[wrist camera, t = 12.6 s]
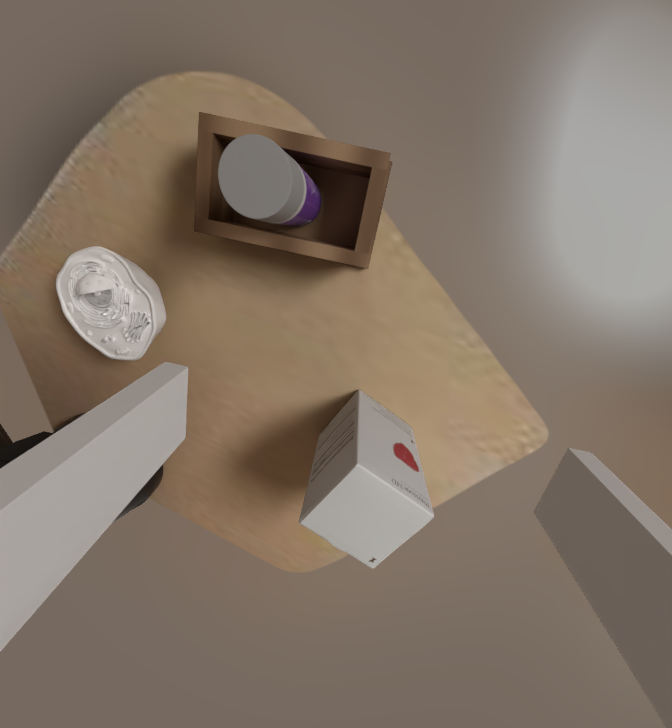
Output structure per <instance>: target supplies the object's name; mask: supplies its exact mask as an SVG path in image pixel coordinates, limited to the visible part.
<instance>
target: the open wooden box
mask: <svg viewBox="0 0 672 728" xmlns="http://www.w3.org/2000/svg"><path fill="white" fill-rule="evenodd" d="M247 134H258V135H262V136H265V137H267V138H269V139H271V140H272V141H274V142H275V143H276V144H277V145H278V146H279V147H281V148H282V149H283V150H284V151H285V152H286V153H287V154H288V155H289V156H290V157H292V158H293V159H294V160H295V161H296V162H297V163H298V164H299V165H300V167H301V168H302V169H303V170H304V171H305V172H306V173H307V174H308V176H309V177H310V178H311V179H312V180H313V181H314V182H315V184H316V185H317V187H318V188H319V191H320V193H321V199H322V204H321V209H320V212H319V214H318V216H317V217H316V219H315V220H314V221H313V222H311V223H310V224H308V225H305V226H291V225H282V224H274V223H269V222H265V221H260V220H256V219H252V218H248V217H245V216H243V215H241V214H239V213H238V212H236V211H235V210H234V209H233V208H232V207H231V206H230V205H229V204H228V202H227V201H226V199H225V198H224V196H223V194H222V191H221V189H220V185H219V180H218V167H219V162H220V158H221V156H222V153H223V152H224V150H225V148H226V147H227V146H228V145H229V144H230V143H231V142H232V141H233V140H234V139H236V138H238V137H240V136H243V135H247ZM390 154H391V153H387V152H382V151H378V150H373V149H368V148H364V147H359V146H355V145H350V144H345V143H340V142H336V141H332V140H327V139H322V138H318V137H313V136H308V135H304V134H299V133H295V132H290V131H285V130H281V129H276V128H271V127H267V126H262V125H258V124H253V123H248V122H244V121H239V120H235V119H230V118H225V117H221V116H216V115H211V114H207V113H202V112H199V125H198V150H197V174H196V198H195V222H194V231H196V232H200V233H205V234H210V235H214V236H218V237H222V238H227V239H232V240H236V241H241V242H245V243H250V244H255V245H259V246H264V247H269V248H273V249H278V250H283V251H287V252H292V253H297V254H301V255H306V256H311V257H315V258H320V259H325V260H329V261H334V262H339V263H343V264H348V265H353V266H357V267H362V268H366V269H368V267H369V262H370V258H371V254H372V249H373V245H374V240H375V236H376V232H377V227H378V223H379V218H380V214H381V210H382V205H383V201H384V196H385V192H386V188H387V183H388V179H389V174H390V170H391V166H392V162H391V161H389V158H390Z"/></svg>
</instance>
